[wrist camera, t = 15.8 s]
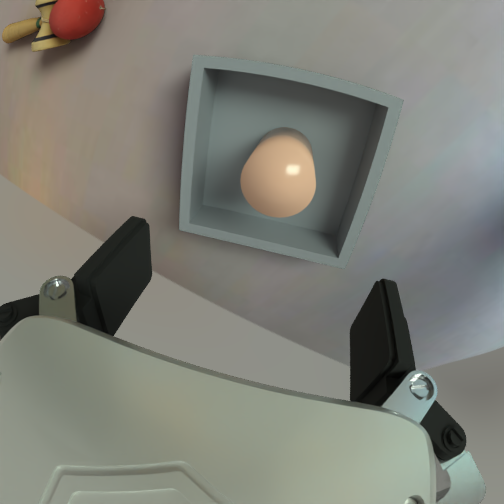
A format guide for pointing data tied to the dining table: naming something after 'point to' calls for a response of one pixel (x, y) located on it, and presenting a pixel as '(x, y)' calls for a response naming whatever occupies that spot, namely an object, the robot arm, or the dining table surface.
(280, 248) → the bin
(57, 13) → the kendama
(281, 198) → the beige rounded capsule
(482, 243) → the dining table surface
